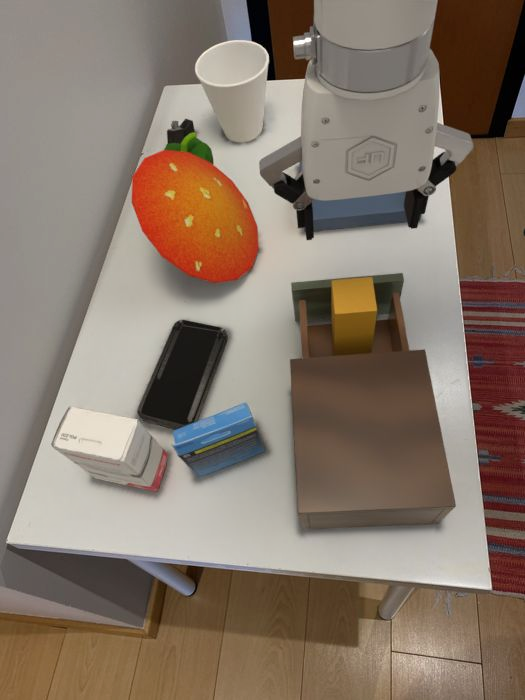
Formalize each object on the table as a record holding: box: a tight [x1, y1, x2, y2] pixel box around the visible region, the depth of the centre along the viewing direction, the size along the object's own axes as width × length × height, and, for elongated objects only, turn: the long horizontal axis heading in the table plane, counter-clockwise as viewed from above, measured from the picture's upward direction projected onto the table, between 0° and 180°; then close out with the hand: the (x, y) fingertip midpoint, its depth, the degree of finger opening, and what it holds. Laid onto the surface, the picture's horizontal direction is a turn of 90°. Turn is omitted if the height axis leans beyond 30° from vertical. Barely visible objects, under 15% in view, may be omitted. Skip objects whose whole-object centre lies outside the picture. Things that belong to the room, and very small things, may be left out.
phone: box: [136, 319, 229, 430], centre depth 68 cm, size 8×1×15 cm
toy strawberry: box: [131, 149, 260, 284], centre depth 72 cm, size 15×21×15 cm
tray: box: [298, 161, 422, 233], centre depth 79 cm, size 17×14×2 cm
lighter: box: [166, 118, 196, 144], centre depth 89 cm, size 8×2×5 cm
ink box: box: [50, 406, 169, 492], centre depth 58 cm, size 9×5×12 cm, turn 77°
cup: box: [194, 39, 270, 144], centre depth 85 cm, size 12×12×12 cm
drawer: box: [290, 272, 410, 358], centre depth 62 cm, size 17×14×7 cm
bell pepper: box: [163, 131, 215, 166], centre depth 80 cm, size 8×8×10 cm
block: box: [330, 277, 378, 356], centre depth 60 cm, size 4×4×12 cm
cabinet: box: [289, 348, 457, 531], centre depth 56 cm, size 17×15×9 cm
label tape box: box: [170, 401, 266, 478], centre depth 57 cm, size 9×4×12 cm, turn 110°
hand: (359, 223), depth 49 cm, fingers open, 9 cm apart
